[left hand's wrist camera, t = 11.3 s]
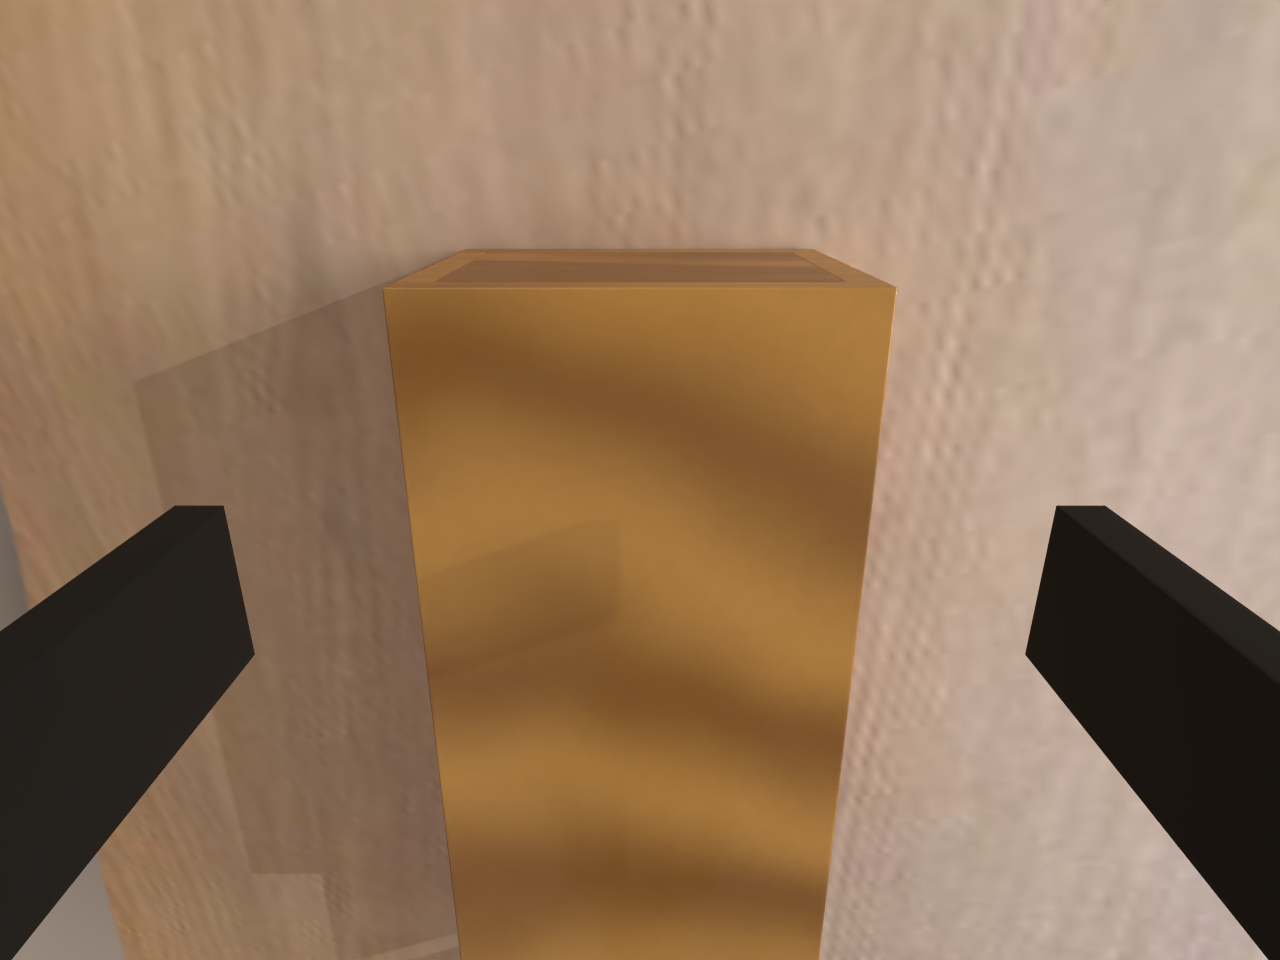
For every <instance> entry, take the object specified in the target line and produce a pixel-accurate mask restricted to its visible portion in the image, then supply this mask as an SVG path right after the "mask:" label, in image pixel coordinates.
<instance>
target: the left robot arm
mask: <svg viewBox="0 0 1280 960" xmlns="http://www.w3.org/2000/svg"><path fill="white" fill-rule="evenodd" d="M254 655H255V653H254V649H253V644H252V639H251V634H250V630H249V625H248V620H247V615H246V611H245V606H244V601H243V596H242V591H241V587H240V582H239V577H238V572H237V568H236V563H235V558H234V553H233V548H232V544H231V539H230V534H229V529H228V525H227V520H226V515H225V510H224V506H174V507H172V508H171V509H170V510H168V511H167V512H166V513H164V514H163V515H161V516H160V517H159V518H157V519H156V520H154V521H153V522H152V523H150V524H149V525H147V526H146V527H145V528H143V529H142V530H141V531H139V532H138V533H136V534H135V535H134V536H132V537H131V538H129V539H128V540H127V541H125V542H124V543H122V544H121V545H120V546H118V547H117V548H116V549H114V550H113V551H111V552H110V553H109V554H107V555H106V556H104V557H103V558H102V559H100V560H99V561H97V562H96V563H95V564H93V565H92V566H91V567H89V568H88V569H86V570H85V571H84V572H82V573H81V574H79V575H78V576H77V577H75V578H74V579H72V580H71V581H70V582H68V583H67V584H66V585H64V586H63V587H61V588H60V589H59V590H57V591H56V592H54V593H53V594H52V595H50V596H49V597H47V598H46V599H45V600H43V601H42V602H41V603H39V604H38V605H36V606H35V607H34V608H32V609H31V610H29V611H28V612H27V613H25V614H24V615H22V616H21V617H20V618H18V619H17V620H16V621H14V622H13V623H11V624H10V625H9V626H7V627H6V628H4V629H3V630H2V631H0V960H12V959H13V957H14V956H15V955H16V954H17V952H18V951H19V950H20V948H21V947H22V946H23V945H24V943H25V942H26V941H27V940H28V938H29V937H30V936H31V935H32V933H33V932H34V931H35V930H36V928H37V927H38V926H39V925H40V923H41V922H42V921H43V920H44V918H45V917H46V916H47V915H48V913H49V912H50V911H51V910H52V908H53V907H54V906H55V905H56V903H57V902H58V901H59V900H60V898H61V897H62V896H63V895H64V893H65V892H66V891H67V889H68V888H69V887H70V886H71V884H72V883H73V882H74V881H75V879H76V878H77V877H78V876H79V874H80V873H81V872H82V871H83V869H84V868H85V867H86V866H87V864H88V863H89V862H90V861H91V859H92V858H93V857H94V856H95V854H96V853H97V852H98V851H99V849H100V848H101V847H102V846H103V844H104V843H105V842H106V841H107V839H108V838H109V837H110V836H111V834H112V833H113V832H114V831H115V829H116V828H117V827H118V825H119V824H120V823H121V822H122V820H123V819H124V818H125V817H126V815H127V814H128V813H129V812H130V810H131V809H132V808H133V807H134V805H135V804H136V803H137V802H138V800H139V799H140V798H141V797H142V795H143V794H144V793H145V792H146V790H147V789H148V788H149V787H150V785H151V784H152V783H153V782H154V780H155V779H156V778H157V777H158V775H159V774H160V773H161V772H162V770H163V769H164V768H165V766H166V765H167V764H168V763H169V761H170V760H171V759H172V758H173V756H174V755H175V754H176V753H177V751H178V750H179V749H180V748H181V746H182V745H183V744H184V743H185V741H186V740H187V739H188V738H189V736H190V735H191V734H192V733H193V731H194V730H195V729H196V728H197V726H198V725H199V724H200V723H201V721H202V720H203V719H204V718H205V716H206V715H207V714H208V713H209V711H210V710H211V709H212V708H213V706H214V705H215V704H216V702H217V701H218V700H219V699H220V697H221V696H222V695H223V694H224V692H225V691H226V690H227V689H228V687H229V686H230V685H231V684H232V682H233V681H234V680H235V679H236V677H237V676H238V675H239V674H240V672H241V671H242V670H243V669H244V667H245V666H246V665H247V664H248V662H249V661H250V660H251V659H252V657H253V656H254ZM1025 655H1026V656H1027V657H1028V659H1029V660H1030V661H1031V662H1032V664H1033V665H1034V666H1035V667H1036V669H1037V670H1038V671H1039V672H1040V674H1041V675H1042V676H1043V677H1044V679H1045V680H1046V681H1047V682H1048V684H1049V685H1050V686H1051V687H1052V689H1053V690H1054V691H1055V692H1056V694H1057V695H1058V696H1059V697H1060V699H1061V700H1062V701H1063V702H1064V704H1065V705H1066V706H1067V708H1068V709H1069V710H1070V711H1071V713H1072V714H1073V715H1074V716H1075V718H1076V719H1077V720H1078V721H1079V723H1080V724H1081V725H1082V726H1083V728H1084V729H1085V730H1086V731H1087V733H1088V734H1089V735H1090V736H1091V738H1092V739H1093V740H1094V741H1095V743H1096V744H1097V745H1098V746H1099V748H1100V749H1101V750H1102V751H1103V753H1104V754H1105V755H1106V756H1107V758H1108V759H1109V760H1110V761H1111V763H1112V764H1113V765H1114V766H1115V768H1116V769H1117V770H1118V772H1119V773H1120V774H1121V775H1122V777H1123V778H1124V779H1125V780H1126V782H1127V783H1128V784H1129V785H1130V787H1131V788H1132V789H1133V790H1134V792H1135V793H1136V794H1137V795H1138V797H1139V798H1140V799H1141V800H1142V802H1143V803H1144V804H1145V805H1146V807H1147V808H1148V809H1149V810H1150V812H1151V813H1152V814H1153V815H1154V817H1155V818H1156V819H1157V820H1158V822H1159V823H1160V824H1161V825H1162V827H1163V828H1164V829H1165V831H1166V832H1167V833H1168V834H1169V836H1170V837H1171V838H1172V839H1173V841H1174V842H1175V843H1176V844H1177V846H1178V847H1179V848H1180V849H1181V851H1182V852H1183V853H1184V854H1185V856H1186V857H1187V858H1188V859H1189V861H1190V862H1191V863H1192V864H1193V866H1194V867H1195V868H1196V869H1197V871H1198V872H1199V873H1200V874H1201V876H1202V877H1203V878H1204V879H1205V881H1206V882H1207V883H1208V884H1209V886H1210V887H1211V888H1212V889H1213V891H1214V892H1215V893H1216V895H1217V896H1218V897H1219V898H1220V900H1221V901H1222V902H1223V903H1224V905H1225V906H1226V907H1227V908H1228V910H1229V911H1230V912H1231V913H1232V915H1233V916H1234V917H1235V918H1236V920H1237V921H1238V922H1239V923H1240V925H1241V926H1242V927H1243V928H1244V930H1245V931H1246V932H1247V933H1248V935H1249V936H1250V937H1251V938H1252V940H1253V941H1254V942H1255V943H1256V945H1257V946H1258V947H1259V948H1260V950H1261V951H1262V952H1263V954H1264V955H1265V956H1266V957H1267V959H1268V960H1280V631H1278V630H1277V629H1276V628H1274V627H1273V626H1271V625H1270V624H1269V623H1267V622H1266V621H1264V620H1263V619H1262V618H1260V617H1259V616H1258V615H1256V614H1255V613H1253V612H1252V611H1251V610H1249V609H1248V608H1246V607H1245V606H1244V605H1242V604H1241V603H1239V602H1238V601H1237V600H1235V599H1234V598H1233V597H1231V596H1230V595H1228V594H1227V593H1226V592H1224V591H1223V590H1221V589H1220V588H1219V587H1217V586H1216V585H1214V584H1213V583H1212V582H1210V581H1209V580H1208V579H1206V578H1205V577H1203V576H1202V575H1201V574H1199V573H1198V572H1196V571H1195V570H1194V569H1192V568H1191V567H1189V566H1188V565H1187V564H1185V563H1184V562H1183V561H1181V560H1180V559H1178V558H1177V557H1176V556H1174V555H1173V554H1171V553H1170V552H1169V551H1167V550H1166V549H1164V548H1163V547H1162V546H1160V545H1159V544H1158V543H1156V542H1155V541H1153V540H1152V539H1151V538H1149V537H1148V536H1146V535H1145V534H1144V533H1142V532H1141V531H1139V530H1138V529H1137V528H1135V527H1134V526H1133V525H1131V524H1130V523H1128V522H1127V521H1126V520H1124V519H1123V518H1121V517H1120V516H1119V515H1117V514H1116V513H1114V512H1113V511H1112V510H1110V509H1109V508H1108V507H1106V506H1056V510H1055V515H1054V520H1053V525H1052V529H1051V534H1050V539H1049V544H1048V548H1047V553H1046V558H1045V563H1044V568H1043V572H1042V577H1041V582H1040V587H1039V591H1038V596H1037V601H1036V606H1035V611H1034V615H1033V620H1032V625H1031V630H1030V634H1029V639H1028V644H1027V649H1026V653H1025Z"/></svg>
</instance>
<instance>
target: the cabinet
mask: <svg viewBox="0 0 1280 960" xmlns="http://www.w3.org/2000/svg"><path fill="white" fill-rule="evenodd" d="M382 290H383V299H384V307H385V316H386V324H387V333H388V341H389V350H390V359H391V367H392V376H393V384H394V393H395V401H396V410H397V418H398V427H399V435H400V444H401V452H402V461H403V469H404V478H405V486H406V495H407V503H408V512H409V520H410V529H411V538H412V546H413V555H414V563H415V572H416V580H417V589H418V597H419V606H420V614H421V623H422V631H423V640H424V648H425V657H426V665H427V674H428V682H429V691H430V699H431V708H432V717H433V725H434V734H435V742H436V751H437V759H438V768H439V776H440V785H441V793H442V802H443V810H444V819H445V827H446V836H447V844H448V853H449V861H450V870H451V878H452V887H453V896H454V904H455V913H456V921H457V930H458V938H459V947H460V955H461V960H819V953H820V944H821V936H822V927H823V919H824V910H825V902H826V893H827V885H828V876H829V867H830V859H831V850H832V842H833V833H834V825H835V816H836V808H837V799H838V791H839V782H840V774H841V765H842V757H843V748H844V740H845V731H846V723H847V714H848V706H849V697H850V689H851V680H852V671H853V663H854V654H855V646H856V637H857V629H858V620H859V612H860V603H861V595H862V586H863V578H864V569H865V561H866V552H867V544H868V535H869V527H870V518H871V510H872V501H873V492H874V484H875V475H876V467H877V458H878V450H879V441H880V433H881V424H882V416H883V407H884V399H885V390H886V382H887V373H888V365H889V356H890V348H891V339H892V331H893V322H894V313H895V305H896V296H897V287H894V286H892V285H890V284H888V283H886V282H884V281H881V280H879V279H877V278H875V277H873V276H871V275H868V274H866V273H864V272H862V271H860V270H857V269H855V268H853V267H851V266H849V265H847V264H844V263H842V262H840V261H838V260H836V259H833V258H831V257H829V256H827V255H825V254H823V253H820V252H818V251H816V250H814V249H466V250H464V251H462V252H459V253H458V254H455V255H453V256H451V257H449V258H447V259H445V260H442V261H440V262H438V263H436V264H434V265H432V266H429V267H427V268H425V269H423V270H421V271H419V272H416V273H414V274H412V275H410V276H408V277H406V278H403V279H401V280H399V281H397V282H394V283H392V284H390V285H387V286H385V287H383V289H382Z"/></svg>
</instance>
